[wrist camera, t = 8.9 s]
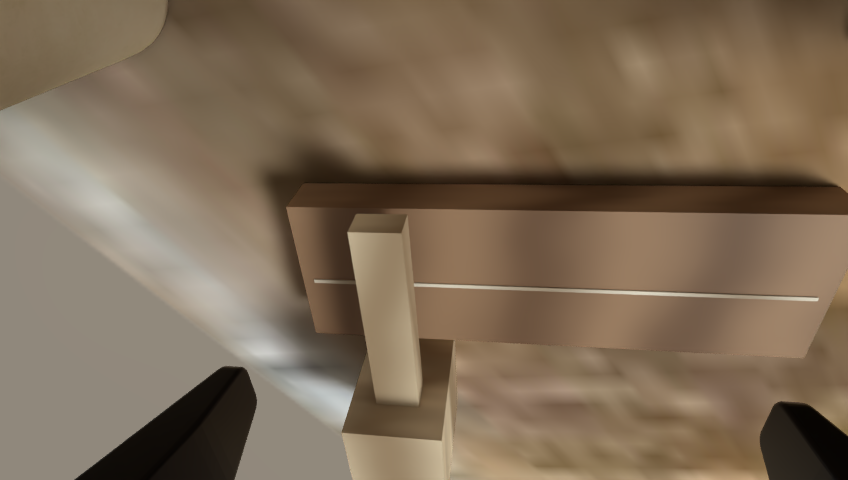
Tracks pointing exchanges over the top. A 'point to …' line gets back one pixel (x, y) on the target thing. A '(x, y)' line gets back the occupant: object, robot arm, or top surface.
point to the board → (591, 262)
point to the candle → (69, 40)
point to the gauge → (397, 366)
